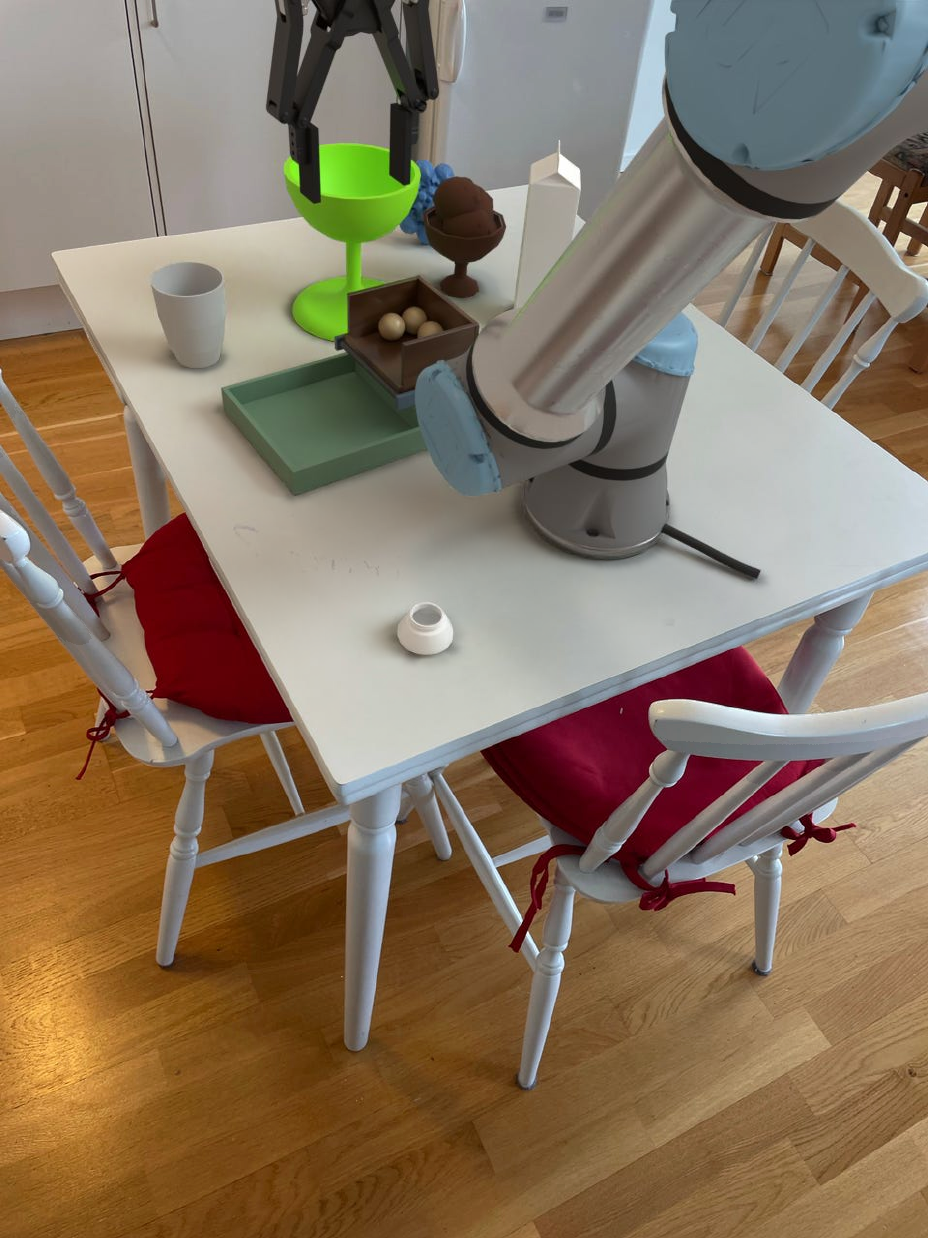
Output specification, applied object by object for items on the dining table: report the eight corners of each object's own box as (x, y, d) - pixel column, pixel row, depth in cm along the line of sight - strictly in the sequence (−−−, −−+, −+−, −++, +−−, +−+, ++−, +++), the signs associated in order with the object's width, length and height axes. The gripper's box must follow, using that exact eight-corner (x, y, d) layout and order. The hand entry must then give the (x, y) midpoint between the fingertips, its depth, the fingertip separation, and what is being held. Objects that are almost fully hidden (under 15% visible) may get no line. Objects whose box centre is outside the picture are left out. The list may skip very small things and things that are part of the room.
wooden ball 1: (399, 349, 108) (414, 327, 108) (382, 338, 106) (398, 315, 105) (385, 337, 110) (400, 315, 109) (368, 325, 108) (384, 303, 107)
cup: (215, 332, 119) (206, 255, 112) (244, 364, 115) (236, 286, 107) (152, 348, 115) (138, 270, 108) (180, 382, 111) (167, 302, 104)
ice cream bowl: (492, 313, 127) (503, 200, 116) (410, 299, 128) (414, 185, 117) (505, 276, 135) (517, 166, 124) (428, 263, 135) (433, 153, 125)
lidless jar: (450, 660, 85) (454, 619, 88) (452, 638, 83) (456, 597, 86) (394, 654, 85) (400, 614, 88) (395, 632, 83) (401, 591, 86)
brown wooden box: (474, 376, 107) (480, 323, 102) (395, 401, 102) (396, 347, 97) (417, 325, 113) (419, 274, 108) (339, 347, 108) (338, 294, 104)
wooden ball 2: (427, 339, 110) (435, 315, 108) (406, 338, 108) (415, 313, 106) (413, 327, 111) (421, 303, 110) (392, 325, 110) (400, 300, 108)
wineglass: (266, 316, 122) (254, 173, 109) (338, 269, 132) (335, 132, 119) (371, 357, 118) (372, 212, 105) (437, 304, 128) (445, 166, 115)
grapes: (400, 261, 135) (403, 175, 126) (384, 240, 139) (385, 155, 131) (476, 252, 139) (483, 167, 130) (458, 231, 143) (463, 148, 134)
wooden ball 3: (444, 354, 108) (453, 329, 106) (423, 353, 106) (432, 327, 104) (429, 341, 110) (438, 317, 108) (409, 340, 108) (417, 315, 106)
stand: (471, 423, 110) (476, 373, 105) (396, 448, 106) (398, 398, 101) (408, 364, 117) (409, 315, 112) (335, 386, 113) (334, 336, 108)
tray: (434, 447, 106) (435, 424, 104) (294, 495, 99) (293, 472, 97) (356, 371, 115) (356, 348, 113) (223, 410, 108) (220, 387, 106)
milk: (557, 312, 129) (585, 141, 113) (557, 335, 125) (586, 161, 109) (512, 307, 129) (534, 135, 113) (510, 330, 125) (533, 155, 109)
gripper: (443, -119, 81) (430, 155, 98) (203, -109, 72) (233, 192, 88) (494, -99, 77) (472, 183, 94) (246, -85, 68) (269, 226, 84)
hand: (356, 188), depth 91 cm, fingers open, 9 cm apart
